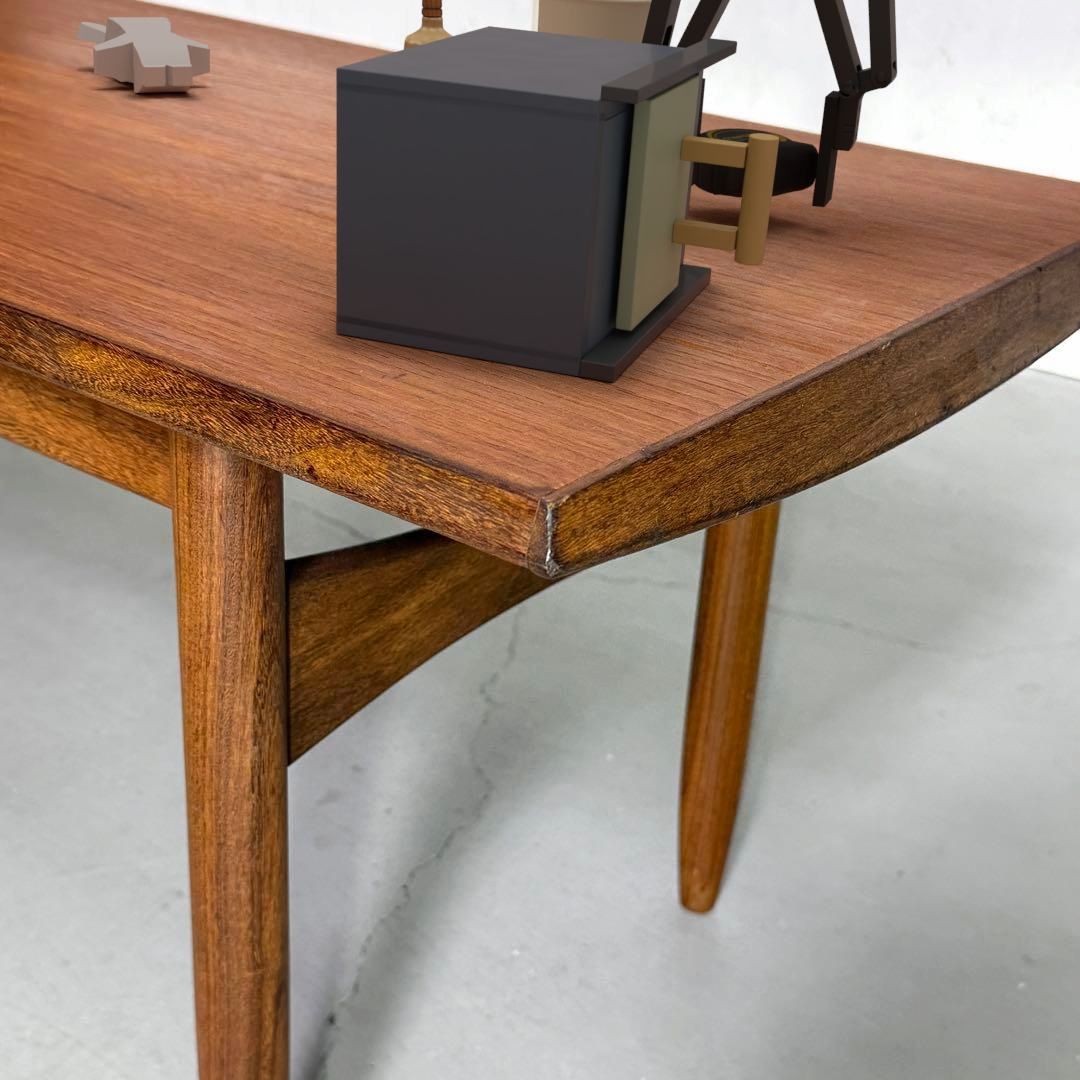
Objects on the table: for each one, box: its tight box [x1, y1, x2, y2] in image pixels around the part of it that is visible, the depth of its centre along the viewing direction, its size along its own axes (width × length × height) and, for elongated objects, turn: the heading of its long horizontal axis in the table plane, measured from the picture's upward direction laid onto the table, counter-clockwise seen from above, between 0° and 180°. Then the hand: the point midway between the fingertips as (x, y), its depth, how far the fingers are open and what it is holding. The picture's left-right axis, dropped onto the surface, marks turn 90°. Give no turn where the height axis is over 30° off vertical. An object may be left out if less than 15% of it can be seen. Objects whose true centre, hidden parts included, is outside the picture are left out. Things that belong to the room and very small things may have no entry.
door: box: [615, 75, 779, 331], centre depth 69 cm, size 5×8×10 cm, turn 160°
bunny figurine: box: [75, 16, 211, 94], centre depth 124 cm, size 10×5×15 cm
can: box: [537, 0, 652, 43], centre depth 106 cm, size 9×9×12 cm
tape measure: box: [692, 127, 819, 199], centre depth 93 cm, size 7×7×4 cm
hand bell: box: [403, 0, 453, 50], centre depth 120 cm, size 8×8×16 cm
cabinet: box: [335, 25, 738, 383], centre depth 72 cm, size 14×18×13 cm
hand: (752, 193), depth 93 cm, fingers closed on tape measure, 8 cm apart
